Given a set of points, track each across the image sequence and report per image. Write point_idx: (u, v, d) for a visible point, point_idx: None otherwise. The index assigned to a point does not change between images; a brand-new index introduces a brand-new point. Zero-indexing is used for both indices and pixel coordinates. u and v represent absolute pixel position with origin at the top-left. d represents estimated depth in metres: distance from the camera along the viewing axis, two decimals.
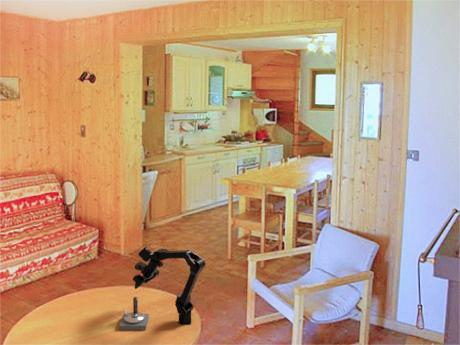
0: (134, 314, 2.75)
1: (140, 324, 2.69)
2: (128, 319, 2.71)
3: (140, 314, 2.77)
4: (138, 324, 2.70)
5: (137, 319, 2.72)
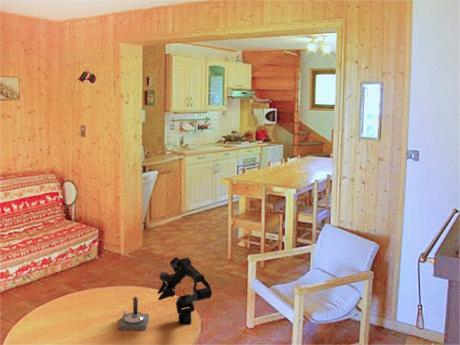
0: (134, 314, 2.75)
1: (140, 324, 2.69)
2: (128, 319, 2.71)
3: (140, 314, 2.77)
4: (138, 324, 2.70)
5: (137, 319, 2.72)
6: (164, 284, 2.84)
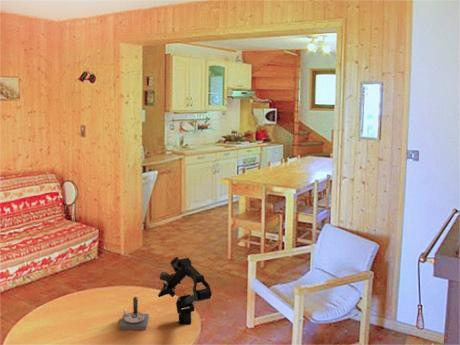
0: (134, 314, 2.75)
1: (140, 324, 2.69)
2: (128, 319, 2.71)
3: (140, 314, 2.77)
4: (138, 324, 2.70)
5: (137, 319, 2.72)
6: (165, 287, 2.80)
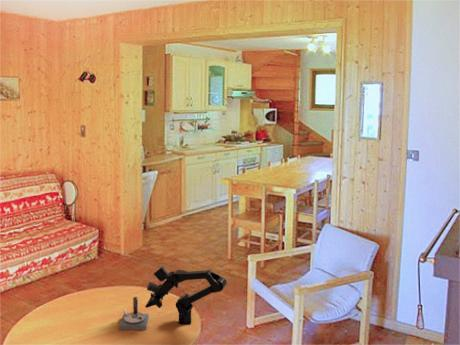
0: (134, 314, 2.75)
1: (140, 324, 2.69)
2: (128, 319, 2.71)
3: (140, 314, 2.77)
4: (138, 324, 2.70)
5: (137, 319, 2.72)
6: (152, 297, 2.79)
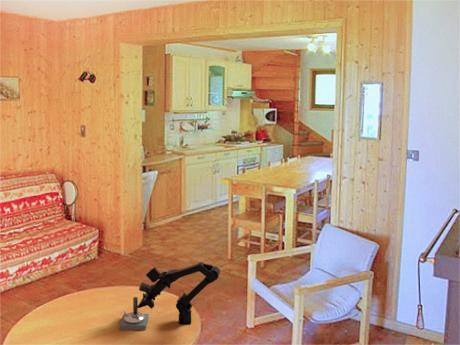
0: (134, 314, 2.75)
1: (140, 324, 2.69)
2: (128, 319, 2.71)
3: (140, 314, 2.77)
4: (138, 324, 2.70)
5: (137, 319, 2.72)
6: None
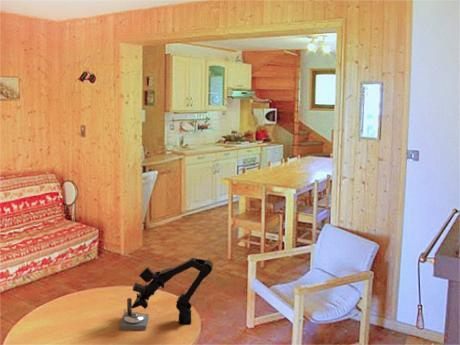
0: (134, 314, 2.75)
1: (140, 324, 2.69)
2: (134, 320, 2.71)
3: (135, 313, 2.79)
4: (138, 324, 2.70)
5: (141, 317, 2.74)
6: (138, 298, 2.78)
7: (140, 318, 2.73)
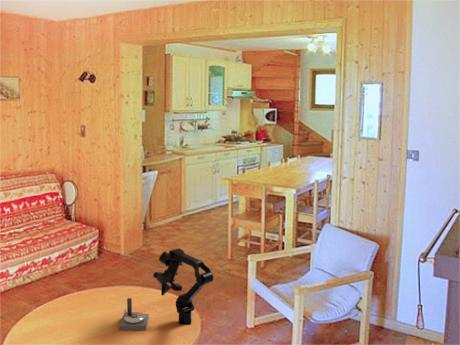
0: (134, 314, 2.75)
1: (140, 324, 2.69)
2: (134, 320, 2.71)
3: (135, 313, 2.79)
4: (138, 324, 2.70)
5: (141, 317, 2.74)
6: (164, 284, 2.81)
7: (140, 318, 2.73)
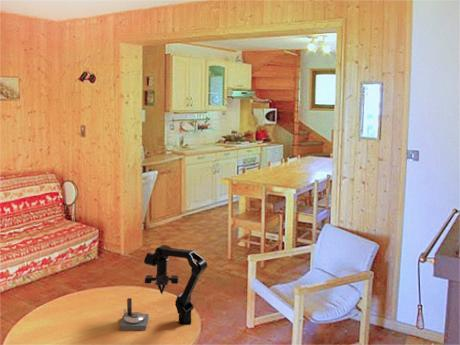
0: (134, 314, 2.75)
1: (140, 324, 2.69)
2: (134, 320, 2.71)
3: (135, 313, 2.79)
4: (138, 324, 2.70)
5: (141, 317, 2.74)
6: None
7: (140, 318, 2.73)
